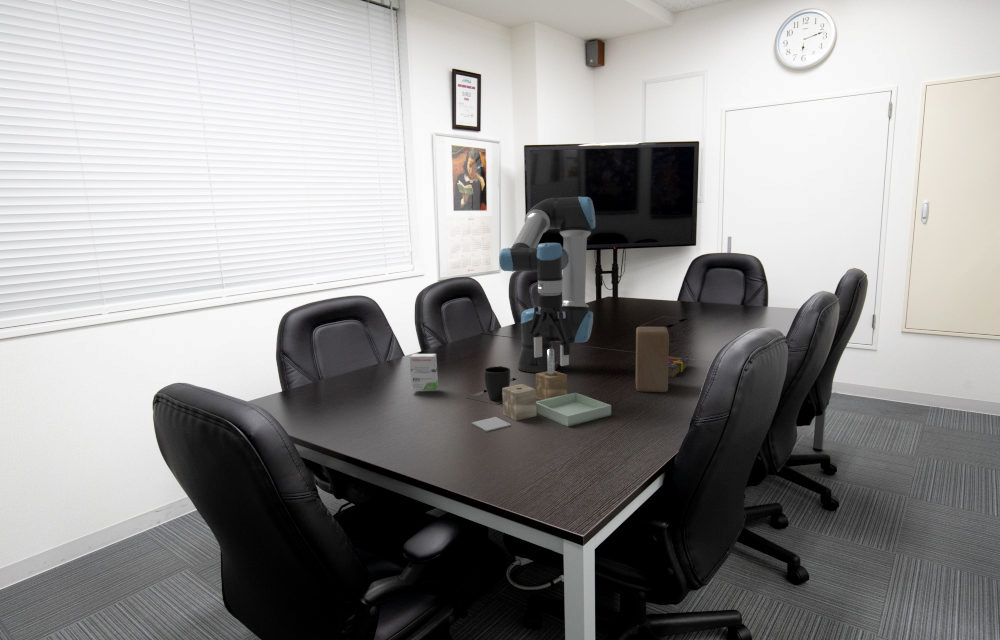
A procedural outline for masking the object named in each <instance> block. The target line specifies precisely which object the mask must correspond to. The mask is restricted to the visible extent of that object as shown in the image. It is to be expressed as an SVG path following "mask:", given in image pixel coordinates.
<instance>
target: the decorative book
mask: <svg viewBox="0 0 1000 640" xmlns="http://www.w3.org/2000/svg"><path fill="white" fill-rule="evenodd" d="M689 361H690V358H689V357H688V358H687V357H675V356H669V362H668V378H669V377H671V378H675V377H676V376H677V375H678V374H680V373H682V372H683V371H684V370H685V369H687V368H688V362H689ZM677 373H678V374H677ZM676 374H677V375H676Z"/></svg>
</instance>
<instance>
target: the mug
mask: <svg viewBox="0 0 1000 640" xmlns="http://www.w3.org/2000/svg"><path fill="white" fill-rule="evenodd" d="M483 371H484V372H483V374H484V376H483V377H484V385H485V388H486V393H487V395H488V399H489V400H490V401H493V402H500V401H502V402H503V393H502V388H505V387H510V384H511V369H510V368H509V367H507V366H502V365H498V366H490V367H487V368H485V369H483Z"/></svg>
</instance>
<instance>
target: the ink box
mask: <svg viewBox="0 0 1000 640" xmlns="http://www.w3.org/2000/svg"><path fill="white" fill-rule="evenodd" d="M437 363H438V362H437V353H412V354H411V355H410V356H409V367H410V368H409V370H410V384H411V385H410V386H411V390H412V391H436V390H437V389H438V387H439V377H438V364H437Z"/></svg>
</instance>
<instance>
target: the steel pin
mask: <svg viewBox="0 0 1000 640" xmlns="http://www.w3.org/2000/svg"><path fill="white" fill-rule="evenodd" d="M554 354H555V348H553V349H547V365H548V376H554V375H555V371H556V369H555V362H554Z"/></svg>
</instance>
